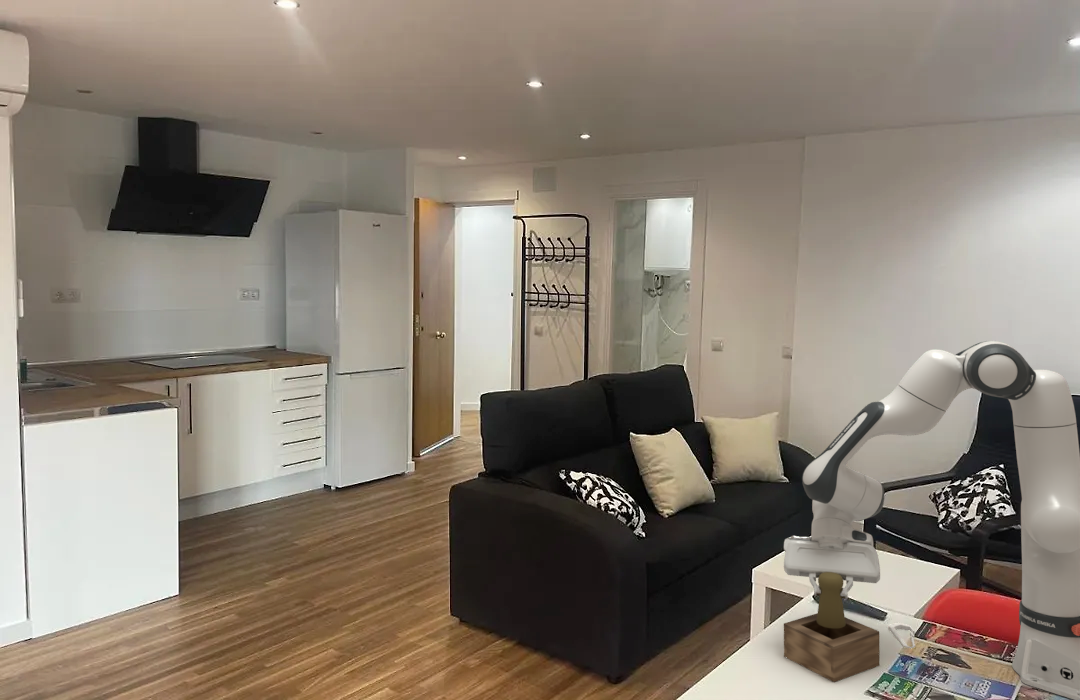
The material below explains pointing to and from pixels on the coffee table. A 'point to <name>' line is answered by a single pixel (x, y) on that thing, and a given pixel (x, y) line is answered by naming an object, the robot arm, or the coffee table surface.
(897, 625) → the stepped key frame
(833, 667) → the walnut box
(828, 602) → the cork
